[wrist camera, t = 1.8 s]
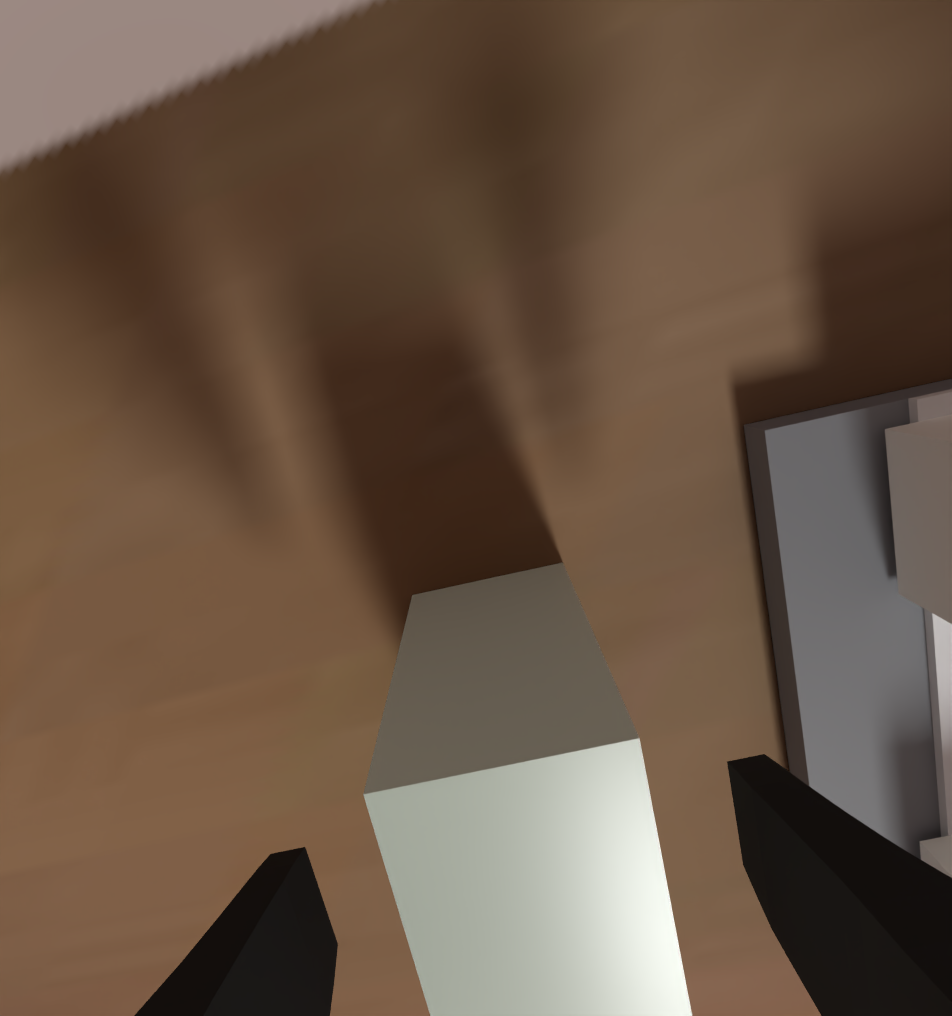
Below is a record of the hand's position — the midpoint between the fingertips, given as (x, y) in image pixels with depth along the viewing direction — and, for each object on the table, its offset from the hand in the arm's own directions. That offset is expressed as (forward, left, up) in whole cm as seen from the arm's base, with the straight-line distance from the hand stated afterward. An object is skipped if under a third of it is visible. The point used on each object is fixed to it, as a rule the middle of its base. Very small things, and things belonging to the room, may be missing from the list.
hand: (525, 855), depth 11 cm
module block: (0, 0, -7) cm, 7 cm away
